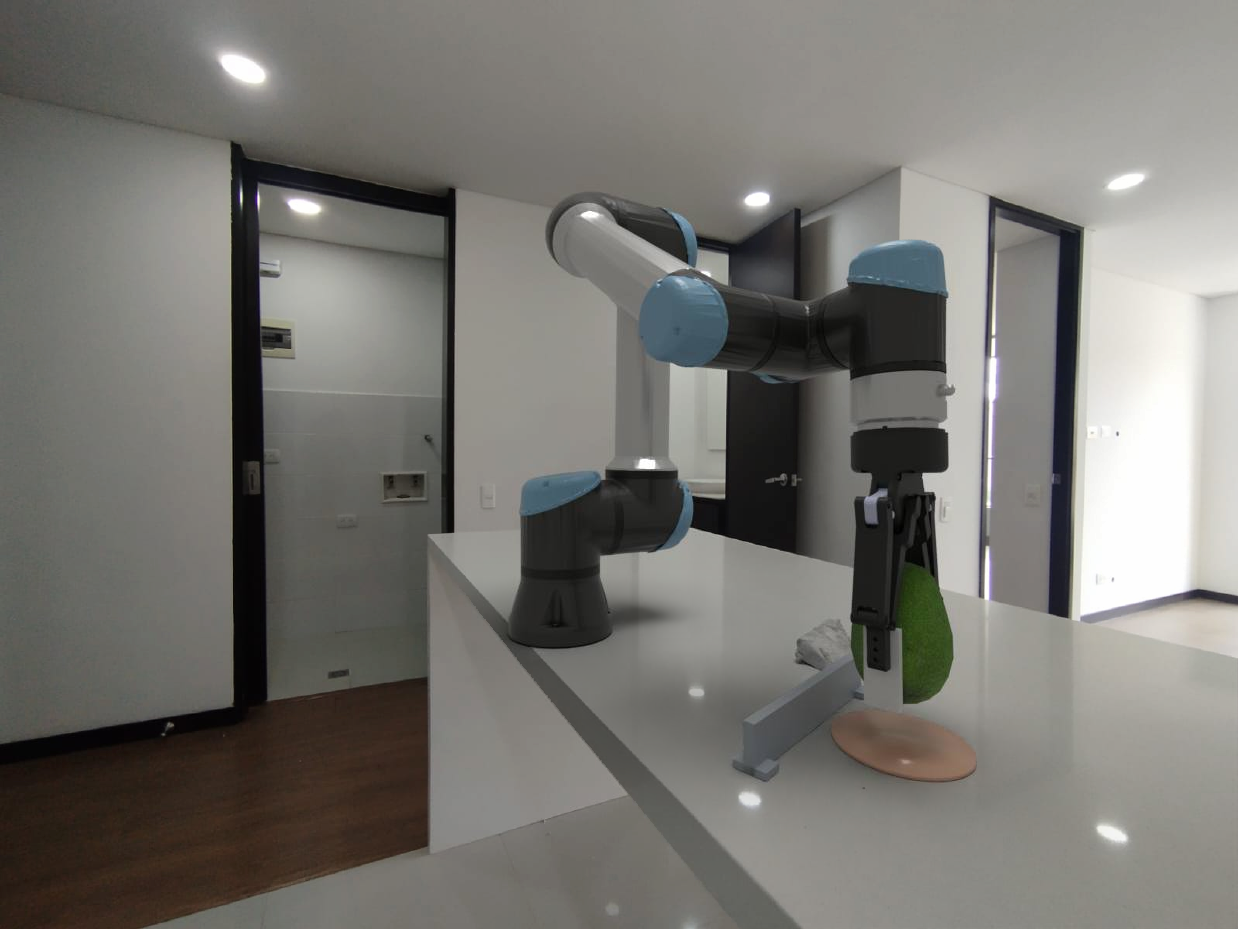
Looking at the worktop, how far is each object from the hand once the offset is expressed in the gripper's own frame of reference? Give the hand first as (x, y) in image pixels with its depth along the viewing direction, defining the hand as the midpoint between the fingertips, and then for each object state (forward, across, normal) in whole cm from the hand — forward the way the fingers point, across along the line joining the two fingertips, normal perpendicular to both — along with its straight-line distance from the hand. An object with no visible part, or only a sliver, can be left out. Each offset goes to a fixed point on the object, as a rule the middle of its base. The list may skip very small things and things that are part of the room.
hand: (900, 691), depth 46 cm
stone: (+5, +16, +13) cm, 22 cm away
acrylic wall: (+5, -2, +7) cm, 9 cm away
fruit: (+1, 0, 0) cm, 1 cm away
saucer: (+5, 0, 0) cm, 5 cm away
